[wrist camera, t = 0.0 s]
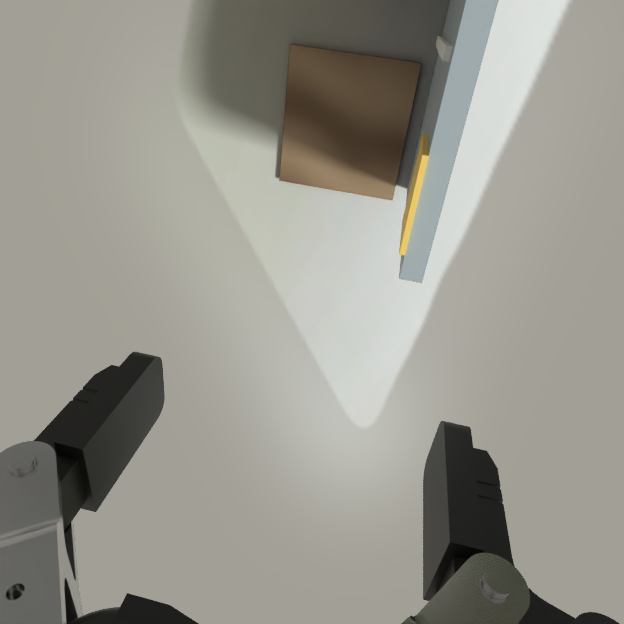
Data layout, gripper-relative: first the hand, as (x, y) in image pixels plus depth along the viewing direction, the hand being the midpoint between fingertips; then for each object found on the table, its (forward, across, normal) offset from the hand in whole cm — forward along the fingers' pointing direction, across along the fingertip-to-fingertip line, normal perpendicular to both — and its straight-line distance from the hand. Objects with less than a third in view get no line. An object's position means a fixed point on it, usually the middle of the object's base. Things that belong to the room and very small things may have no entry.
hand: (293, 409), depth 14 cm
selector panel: (+29, -4, -9) cm, 31 cm away
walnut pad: (+29, +3, -2) cm, 30 cm away
